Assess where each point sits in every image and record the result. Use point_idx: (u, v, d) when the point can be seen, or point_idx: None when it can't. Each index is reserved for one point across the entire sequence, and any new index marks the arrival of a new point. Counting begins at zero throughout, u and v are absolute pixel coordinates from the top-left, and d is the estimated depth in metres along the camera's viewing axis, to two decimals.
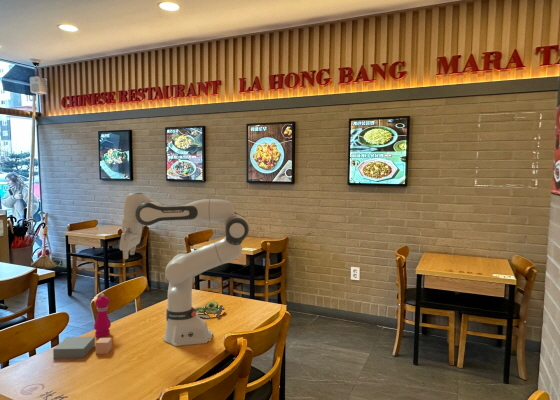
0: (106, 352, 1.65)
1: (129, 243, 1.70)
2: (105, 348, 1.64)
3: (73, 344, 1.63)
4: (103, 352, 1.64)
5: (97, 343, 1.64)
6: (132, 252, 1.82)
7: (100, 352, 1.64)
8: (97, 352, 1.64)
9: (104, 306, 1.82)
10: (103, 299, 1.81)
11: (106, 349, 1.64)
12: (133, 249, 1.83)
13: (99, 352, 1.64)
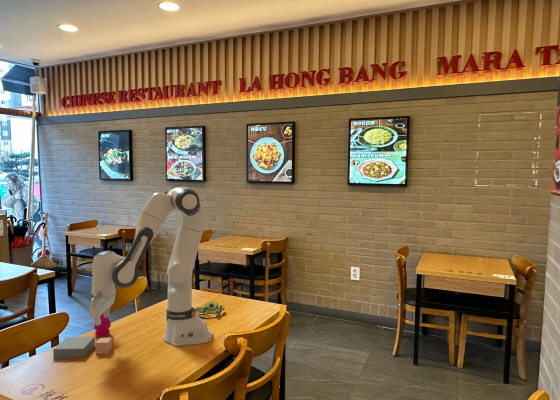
0: (106, 352, 1.65)
1: (100, 309, 1.58)
2: (105, 348, 1.64)
3: (73, 344, 1.63)
4: (103, 352, 1.64)
5: (97, 343, 1.64)
6: (106, 314, 1.70)
7: (100, 352, 1.64)
8: (97, 352, 1.64)
9: None
10: None
11: (106, 349, 1.64)
12: (107, 311, 1.71)
13: (99, 352, 1.64)
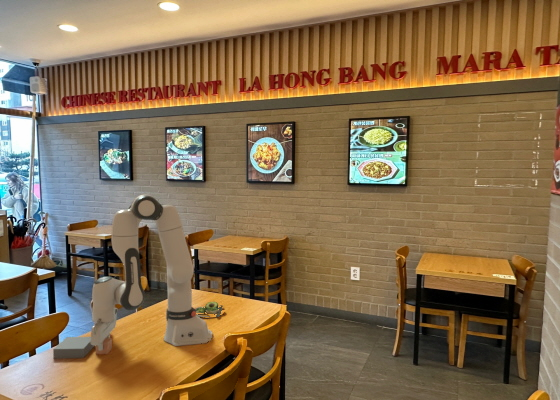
0: (106, 352, 1.65)
1: (101, 336, 1.59)
2: (105, 348, 1.64)
3: (73, 344, 1.63)
4: (103, 352, 1.64)
5: None
6: None
7: (100, 352, 1.64)
8: (97, 352, 1.64)
9: None
10: None
11: (106, 349, 1.64)
12: (107, 337, 1.70)
13: (99, 352, 1.64)
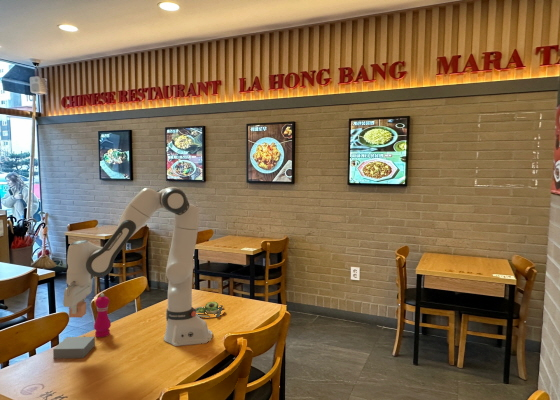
0: (80, 315, 1.62)
1: (74, 298, 1.57)
2: (79, 311, 1.62)
3: (73, 344, 1.63)
4: (77, 315, 1.62)
5: None
6: None
7: (74, 315, 1.62)
8: (70, 315, 1.62)
9: (104, 306, 1.82)
10: (103, 299, 1.81)
11: (80, 312, 1.62)
12: None
13: (72, 315, 1.62)
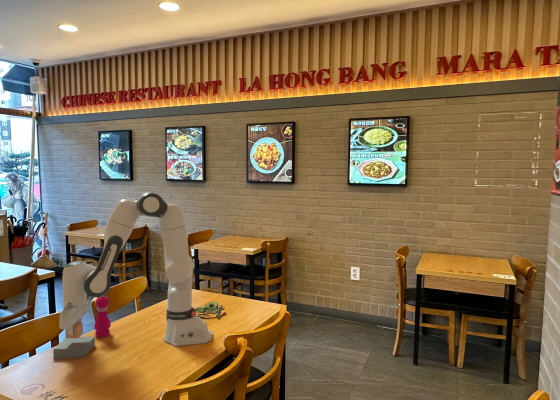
0: (76, 336, 1.63)
1: (70, 320, 1.57)
2: (75, 332, 1.63)
3: (73, 344, 1.63)
4: (73, 336, 1.63)
5: None
6: None
7: (70, 336, 1.63)
8: (67, 336, 1.63)
9: (104, 306, 1.82)
10: (103, 299, 1.81)
11: (76, 333, 1.63)
12: None
13: (69, 336, 1.63)
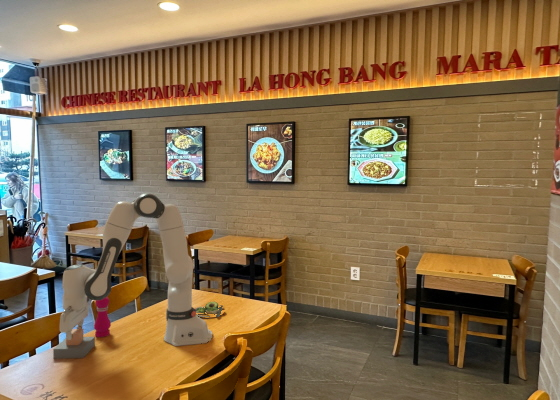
0: (77, 343, 1.63)
1: (70, 323, 1.57)
2: (76, 339, 1.63)
3: None
4: (74, 343, 1.63)
5: None
6: (79, 328, 1.69)
7: (71, 343, 1.63)
8: (68, 343, 1.63)
9: (104, 306, 1.82)
10: (103, 299, 1.81)
11: (77, 340, 1.63)
12: (80, 324, 1.70)
13: (70, 343, 1.63)
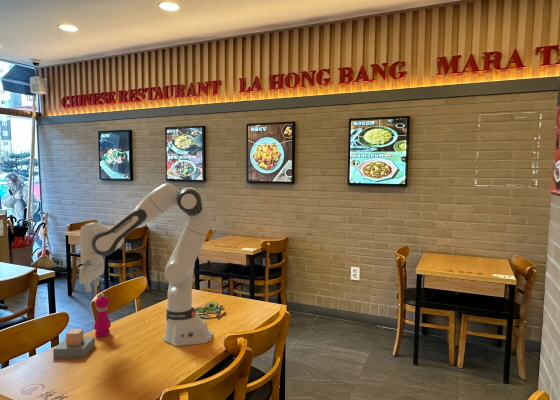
0: (77, 343, 1.63)
1: (89, 275, 1.66)
2: (76, 339, 1.63)
3: None
4: (74, 343, 1.63)
5: (68, 334, 1.63)
6: (96, 283, 1.78)
7: (71, 343, 1.63)
8: (68, 343, 1.63)
9: (104, 306, 1.82)
10: (103, 299, 1.81)
11: (77, 340, 1.63)
12: (97, 280, 1.79)
13: (70, 343, 1.63)
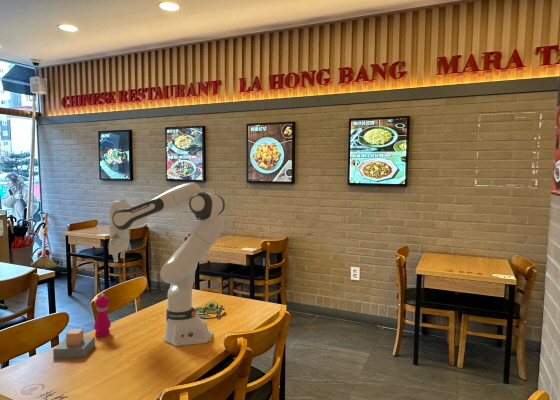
0: (77, 343, 1.63)
1: (117, 247, 1.84)
2: (76, 339, 1.63)
3: None
4: (74, 343, 1.63)
5: (68, 334, 1.63)
6: (122, 256, 1.96)
7: (71, 343, 1.63)
8: (68, 343, 1.63)
9: (104, 306, 1.82)
10: (103, 299, 1.81)
11: (77, 340, 1.63)
12: (123, 253, 1.97)
13: (70, 343, 1.63)
